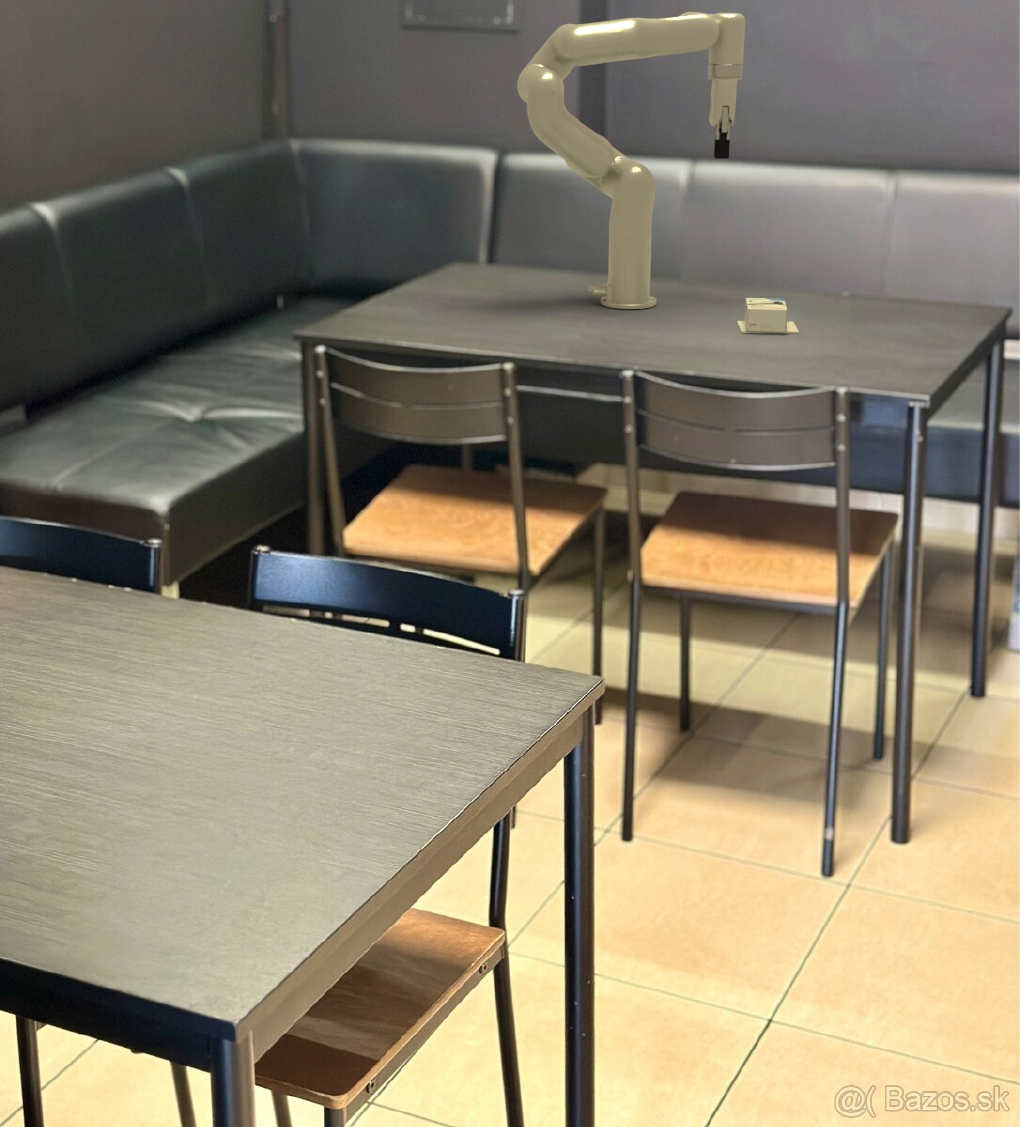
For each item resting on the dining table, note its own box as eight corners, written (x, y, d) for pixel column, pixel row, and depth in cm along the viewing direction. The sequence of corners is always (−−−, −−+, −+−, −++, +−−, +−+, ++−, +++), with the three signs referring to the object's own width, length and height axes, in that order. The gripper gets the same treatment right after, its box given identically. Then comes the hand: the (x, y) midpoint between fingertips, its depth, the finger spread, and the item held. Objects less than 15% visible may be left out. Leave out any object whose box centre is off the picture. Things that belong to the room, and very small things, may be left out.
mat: (741, 333, 335) (741, 331, 334) (737, 322, 344) (737, 321, 344) (798, 333, 334) (798, 331, 334) (792, 323, 343) (793, 321, 343)
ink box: (785, 297, 342) (788, 309, 331) (783, 320, 344) (787, 332, 333) (745, 296, 343) (747, 308, 332) (744, 319, 345) (746, 332, 334)
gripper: (705, 70, 355) (702, 154, 362) (710, 74, 341) (706, 162, 348) (739, 70, 355) (735, 154, 361) (745, 74, 341) (741, 162, 347)
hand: (721, 158), depth 354 cm, fingers closed
